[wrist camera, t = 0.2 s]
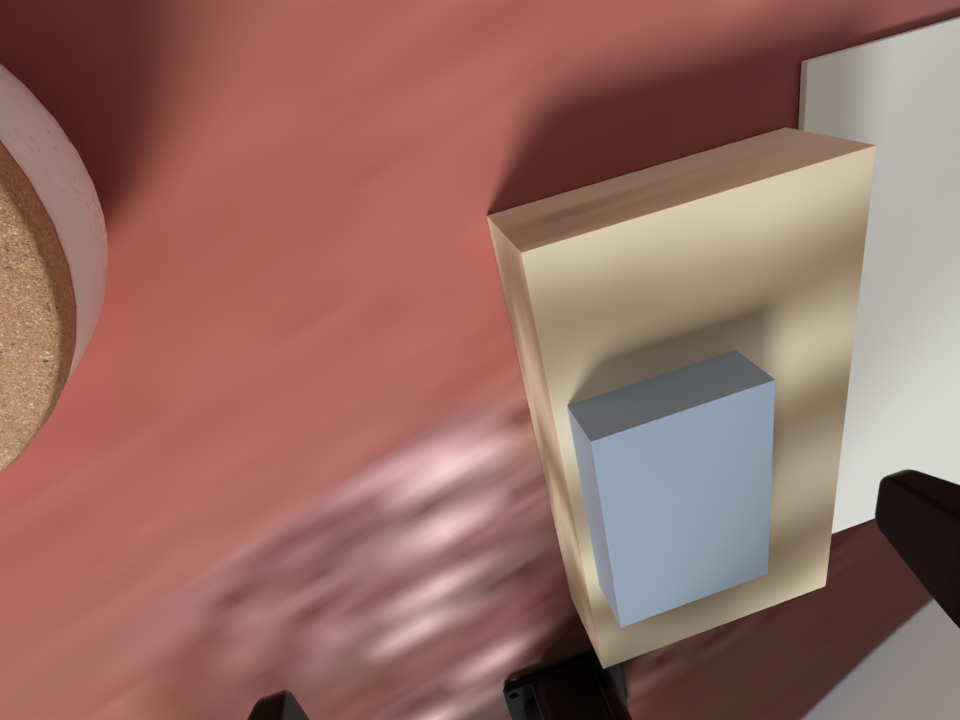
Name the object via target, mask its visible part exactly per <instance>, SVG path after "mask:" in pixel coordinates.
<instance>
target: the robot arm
mask: <svg viewBox="0 0 960 720" xmlns="http://www.w3.org/2000/svg"><path fill="white" fill-rule="evenodd" d="M875 520H876V523H877V526H878V528H879V529H880V531H881V532H882V534H883V535H884V536H885V538H886V539H887V540H888V541H889V543H890V544H891V545H892V546H893V548H894V549H895V550H896V551H897V553H898V554H899V555H900V556H901V558H902V559H903V560H904V561H905V563H906V564H907V565H908V566H909V568H910V569H911V570H912V571H913V573H914V574H915V575H916V576H917V578H918V579H919V580H920V581H921V583H922V584H923V585H924V586H925V588H926V589H927V590H928V591H929V593H930V594H931V595H932V596H933V598H934V599H935V600H936V601H937V603H938V604H939V605H940V606H941V608H943V610H944V611H945V612H946V614H947V615H948V616H949V617H950V618H951V619H952V621H953V622H954V623H955V624H956V625H957V626H958V627H959V628H960V485H959V484H956V483H953V482H950V481H947V480H944V479H941V478H938V477H935V476H932V475H929V474H926V473H923V472H920V471H916V470H911V469H906V470H901V471H899V472H896V473H893V474H890V475H887V476H885V477H883V478H882V480H881V481H880V484H879V489H878V496H877V502H876V509H875ZM503 693H504V697H505V700H506V703H507V706H508V709H509V711H510V714H511V717H512V720H632V718H631V716H630V713H629V711H628V707H627V701H626V695H625V689H624V683H623V677H622V672H621V666H620V663H618V664H615V665H613V666H610V667H607V668H604V669H603V667H602V665H601V663H600V661H599V658H598V656H597V654H596V652H594V653H591V654H588V655H586V656H583V657H580V658H578V659H575V660H572V661H569V662H567V663H564V664H561V665H559V666H556V667H553V668H551V669H548V670H545V671H542V672H540V673H537V674H534V675H532V676H529V677H526V678H524V679H521V680H518V681H515V682H513V683H510V684H508V685H506V686H505V687H504V689H503ZM247 720H309V718H308V717H307V715H306V714H305V712H304V711H303V709H302V707H301V706H300V704H299V703H298V701H297V700H296V698H295V697H294V695H293V694H292V693H291V692H290V691H288V690H282V691H280V692H277V693H274V694H271V695H268V696H265V697H263V698H261V699H260V700H259V701H258V702H257V703H256V704H255V706H254V707H253V709H252V711H251V713H250V715H249V717H248V719H247Z"/></svg>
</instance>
